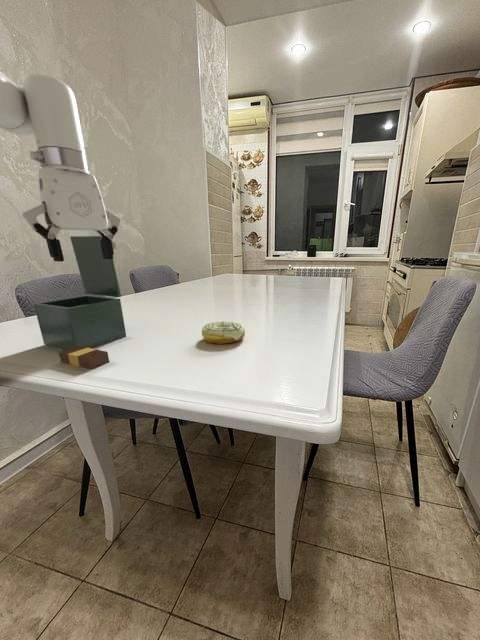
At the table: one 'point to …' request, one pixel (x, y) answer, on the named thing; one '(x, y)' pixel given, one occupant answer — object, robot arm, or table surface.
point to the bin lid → (95, 266)
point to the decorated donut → (223, 332)
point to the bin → (80, 321)
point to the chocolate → (84, 357)
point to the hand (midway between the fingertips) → (85, 260)
